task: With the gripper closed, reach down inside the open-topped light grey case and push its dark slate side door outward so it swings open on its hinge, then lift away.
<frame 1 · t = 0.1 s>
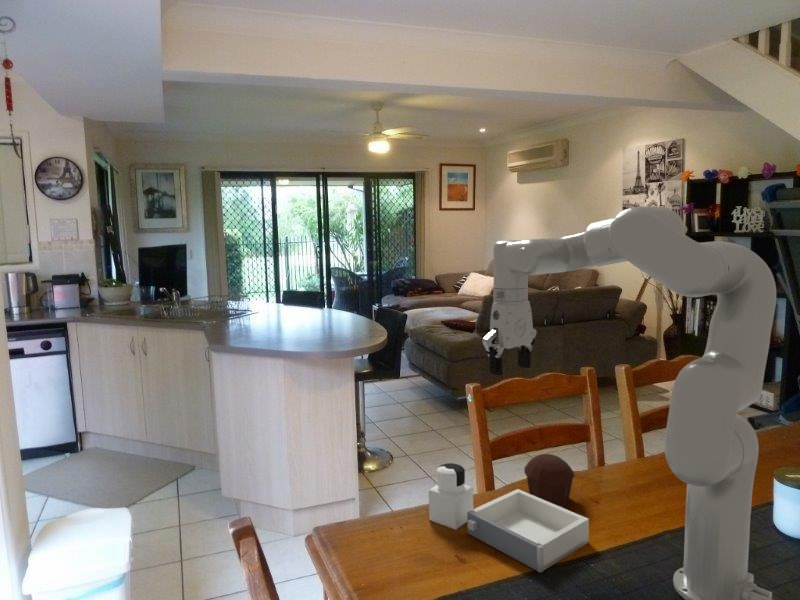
hand: (510, 370, 128), 31 cm above the table, tool pointing down, fingers open, 9 cm apart
case: (527, 538, 116), on the table
muffin: (548, 499, 133), on the table
side door: (501, 540, 110), point 3 cm above the table, hinge at 0.0°
medicine bottle: (451, 519, 124), on the table
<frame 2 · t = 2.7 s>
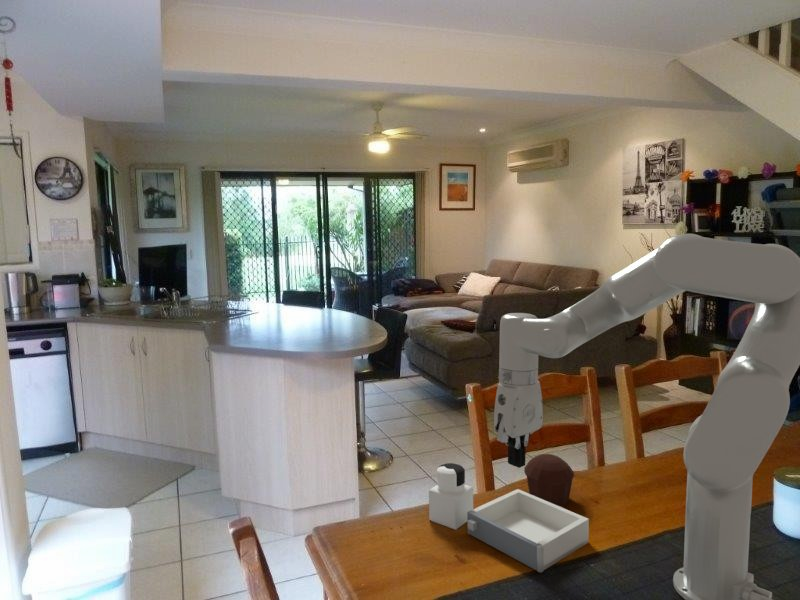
hand: (516, 464, 114), 16 cm above the table, tool pointing down, fingers closed
nothing on the table moved.
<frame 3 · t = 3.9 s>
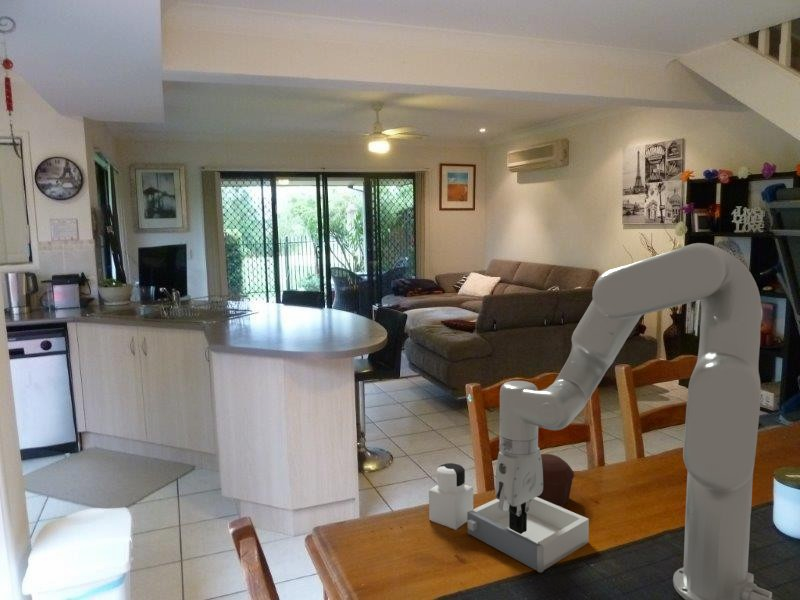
hand: (517, 529, 115), 2 cm above the table, tool pointing down, fingers closed
nothing on the table moved.
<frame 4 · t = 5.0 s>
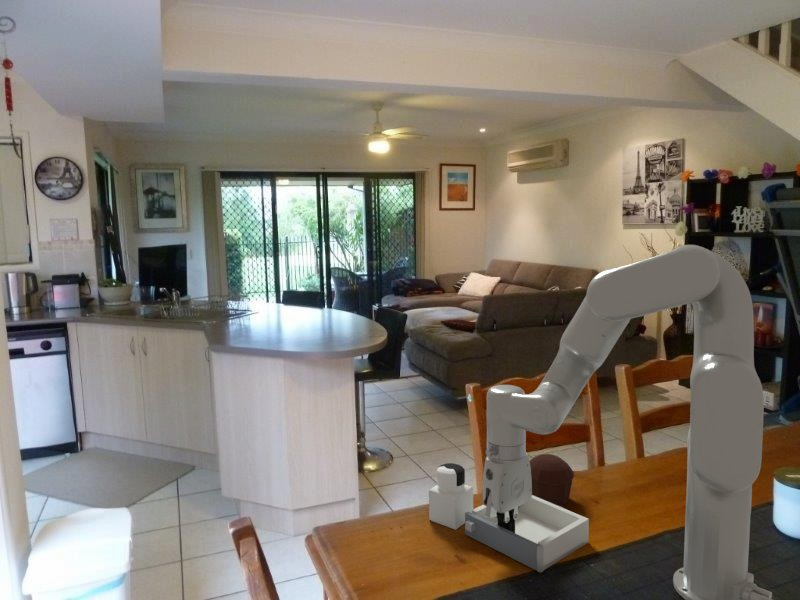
hand: (506, 537, 113), 2 cm above the table, tool pointing down, fingers closed
side door: (500, 541, 110), point 3 cm above the table, hinge at 2.4°, touching gripper
everything else where it was.
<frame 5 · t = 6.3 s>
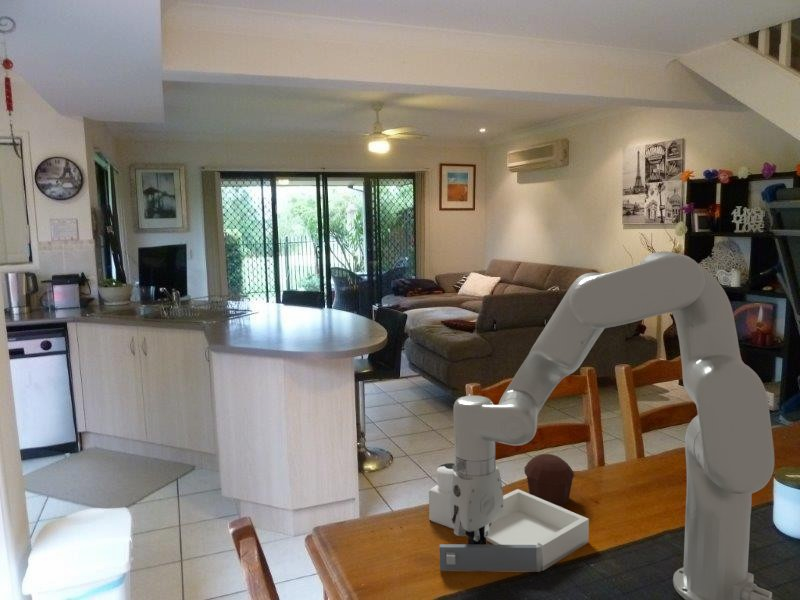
hand: (477, 556, 107), 1 cm above the table, tool pointing down, fingers closed
side door: (490, 559, 104), point 3 cm above the table, hinge at 48.4°, touching gripper
everything else where it was.
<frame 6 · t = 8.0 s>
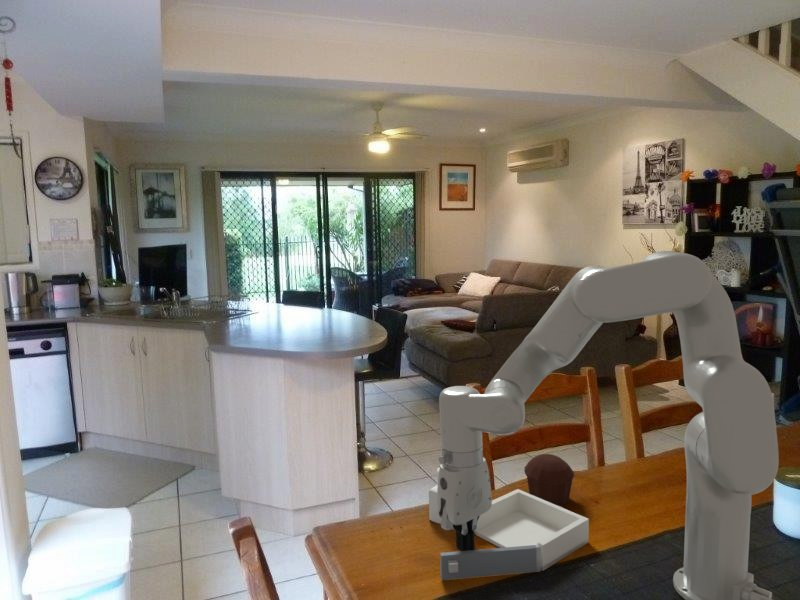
hand: (465, 550, 105), 4 cm above the table, tool pointing down, fingers closed
side door: (492, 563, 102), point 3 cm above the table, hinge at 57.4°
everything else where it was.
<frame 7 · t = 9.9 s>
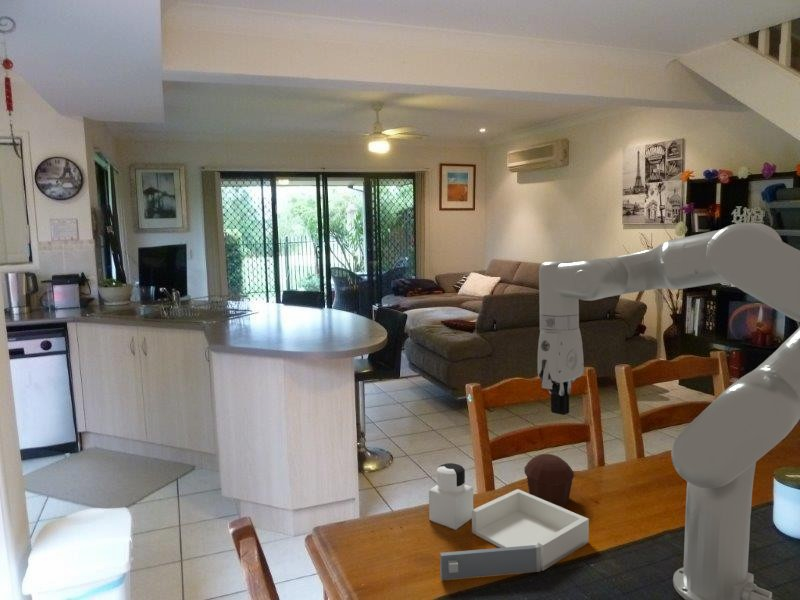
hand: (560, 412, 114), 26 cm above the table, tool pointing down, fingers closed
nothing on the table moved.
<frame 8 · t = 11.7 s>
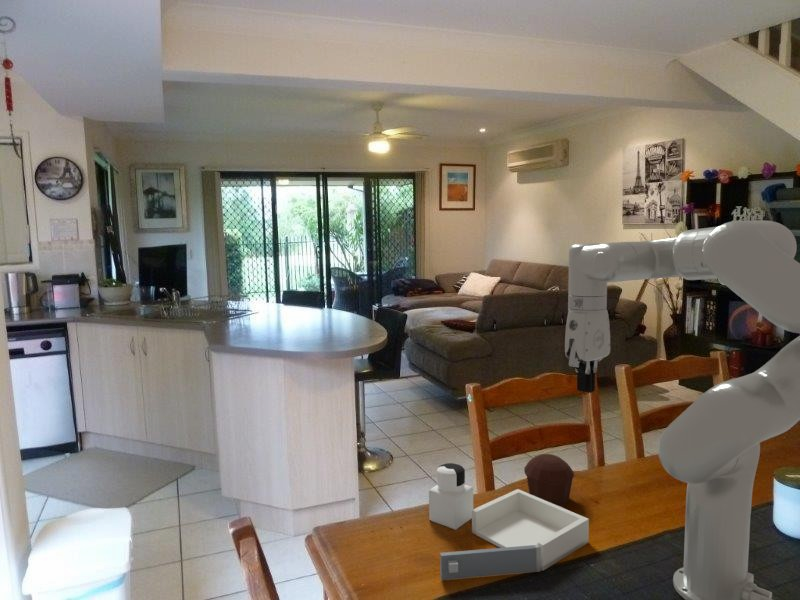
hand: (585, 390, 118), 29 cm above the table, tool pointing down, fingers closed
nothing on the table moved.
at the end: side door at +57° (first picture: +0°); medicine bottle moved 0.2 cm from its start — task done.
